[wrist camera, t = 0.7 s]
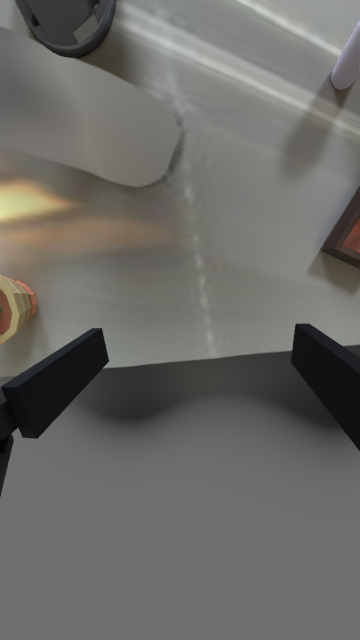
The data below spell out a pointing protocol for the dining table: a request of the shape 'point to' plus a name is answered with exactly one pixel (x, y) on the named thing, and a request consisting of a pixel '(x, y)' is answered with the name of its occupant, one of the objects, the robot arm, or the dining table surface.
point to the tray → (346, 235)
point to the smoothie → (348, 63)
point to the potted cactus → (14, 306)
